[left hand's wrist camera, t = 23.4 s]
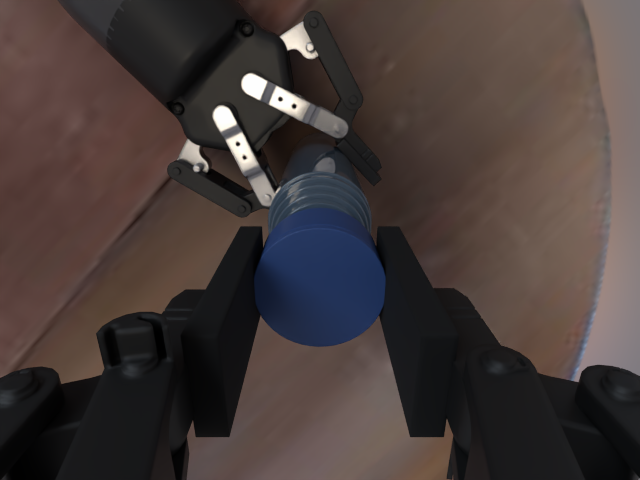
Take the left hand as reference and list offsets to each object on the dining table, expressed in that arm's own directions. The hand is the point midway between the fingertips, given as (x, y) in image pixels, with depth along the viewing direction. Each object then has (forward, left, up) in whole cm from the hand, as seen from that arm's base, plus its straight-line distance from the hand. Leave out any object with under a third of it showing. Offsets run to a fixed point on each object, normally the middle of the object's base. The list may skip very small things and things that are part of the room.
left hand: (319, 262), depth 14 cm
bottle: (0, 0, -20) cm, 20 cm away
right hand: (-3, -1, -14) cm, 14 cm away
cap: (0, 0, +2) cm, 2 cm away
